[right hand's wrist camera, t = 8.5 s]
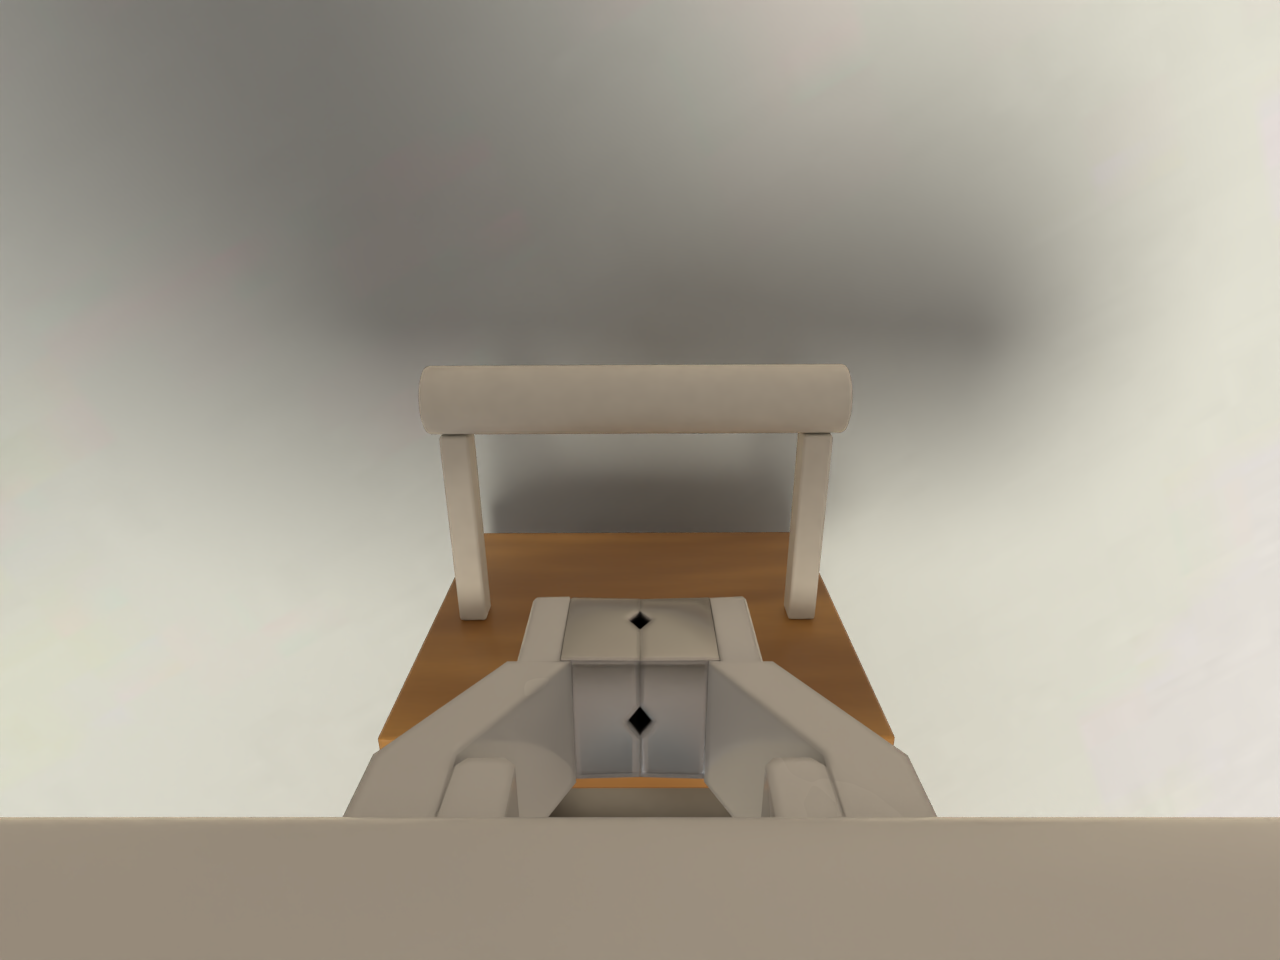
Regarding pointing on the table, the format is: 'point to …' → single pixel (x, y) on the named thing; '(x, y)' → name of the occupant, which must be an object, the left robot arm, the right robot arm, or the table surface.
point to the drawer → (635, 539)
